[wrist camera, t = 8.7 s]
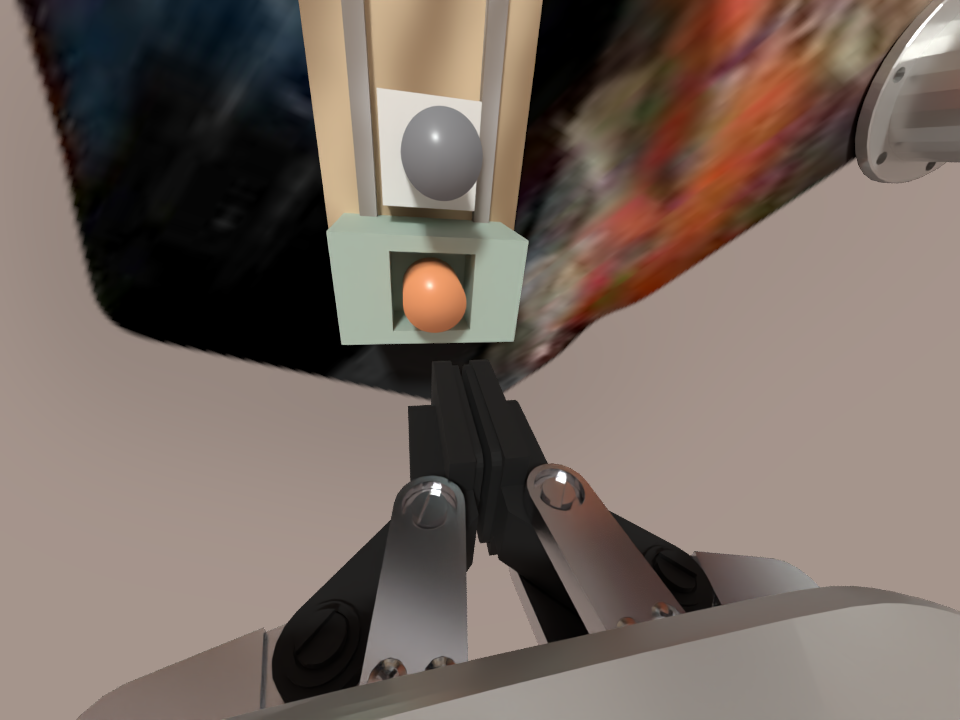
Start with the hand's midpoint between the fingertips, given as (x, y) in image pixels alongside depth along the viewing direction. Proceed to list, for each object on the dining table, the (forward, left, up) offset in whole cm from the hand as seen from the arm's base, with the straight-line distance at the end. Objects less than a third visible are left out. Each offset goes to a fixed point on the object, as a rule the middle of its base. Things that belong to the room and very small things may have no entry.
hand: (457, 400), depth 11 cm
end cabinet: (0, 0, -17) cm, 17 cm away
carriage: (0, -7, -15) cm, 17 cm away
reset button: (0, 0, -11) cm, 11 cm away
